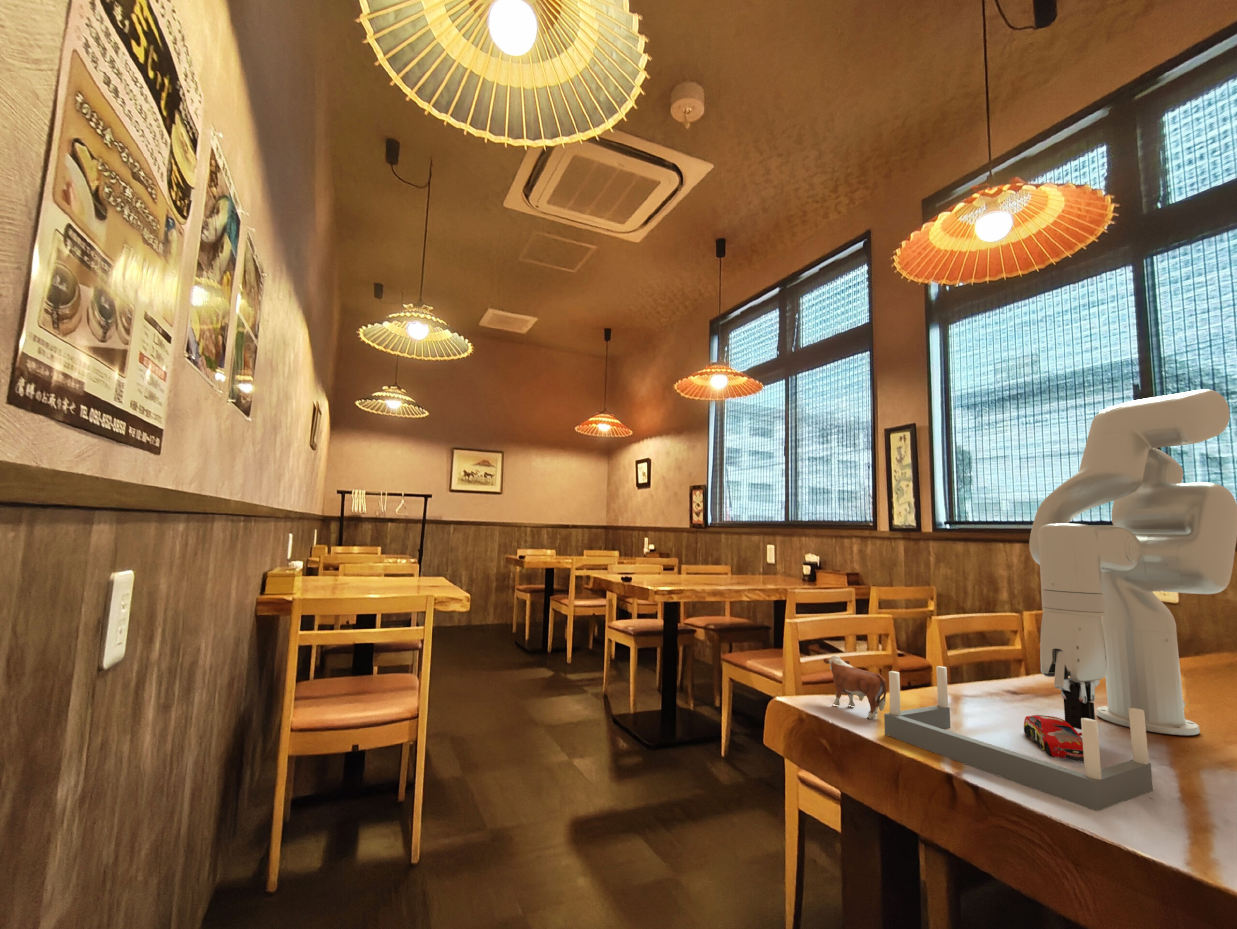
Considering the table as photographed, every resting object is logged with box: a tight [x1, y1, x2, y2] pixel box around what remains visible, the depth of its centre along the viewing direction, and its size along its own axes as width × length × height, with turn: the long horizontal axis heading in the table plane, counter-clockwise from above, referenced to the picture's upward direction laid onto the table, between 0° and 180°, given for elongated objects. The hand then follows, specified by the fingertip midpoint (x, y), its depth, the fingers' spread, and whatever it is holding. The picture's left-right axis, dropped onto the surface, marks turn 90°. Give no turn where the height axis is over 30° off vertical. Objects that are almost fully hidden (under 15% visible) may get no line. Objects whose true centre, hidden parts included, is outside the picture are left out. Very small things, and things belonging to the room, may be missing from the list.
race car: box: [1023, 714, 1084, 762], centre depth 81 cm, size 13×5×4 cm, turn 160°
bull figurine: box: [823, 654, 887, 720], centre depth 97 cm, size 4×13×8 cm, turn 18°
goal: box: [883, 665, 1154, 812], centre depth 76 cm, size 14×26×9 cm, turn 28°
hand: (1080, 727), depth 85 cm, fingers closed
